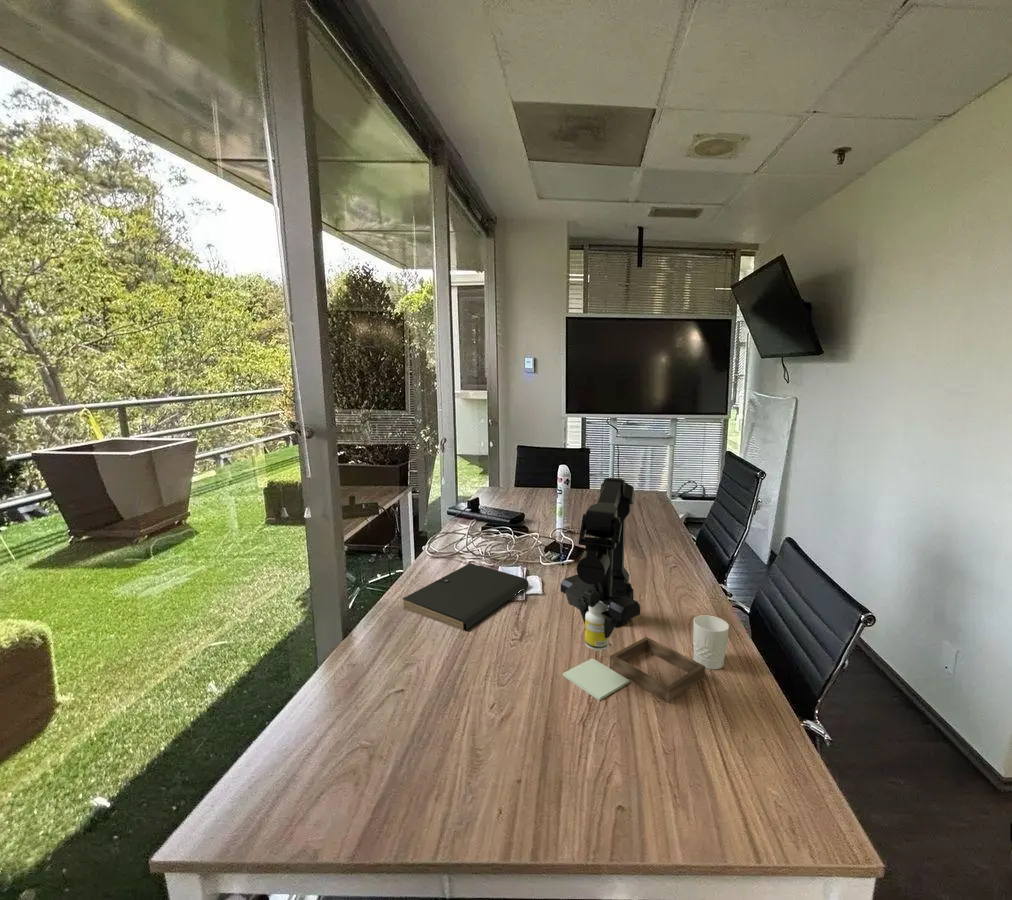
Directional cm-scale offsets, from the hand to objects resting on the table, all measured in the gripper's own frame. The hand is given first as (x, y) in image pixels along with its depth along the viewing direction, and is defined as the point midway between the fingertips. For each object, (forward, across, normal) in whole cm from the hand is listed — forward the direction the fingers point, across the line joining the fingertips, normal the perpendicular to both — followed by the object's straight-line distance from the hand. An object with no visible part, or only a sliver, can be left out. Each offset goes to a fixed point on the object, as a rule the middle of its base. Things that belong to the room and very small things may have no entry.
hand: (597, 632), depth 109 cm
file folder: (+12, -52, 0) cm, 54 cm away
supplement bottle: (+3, 0, 0) cm, 3 cm away
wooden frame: (+12, +7, +13) cm, 19 cm away
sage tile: (+11, 0, 0) cm, 11 cm away
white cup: (+12, +12, +27) cm, 32 cm away
